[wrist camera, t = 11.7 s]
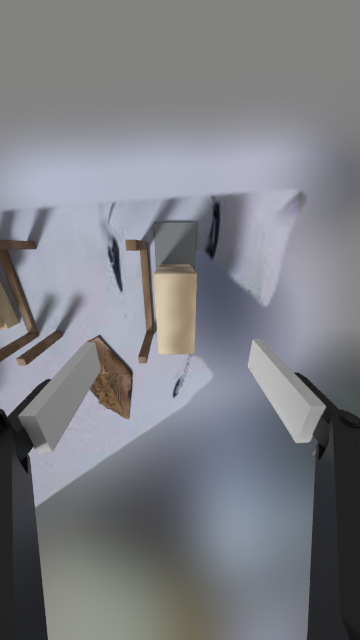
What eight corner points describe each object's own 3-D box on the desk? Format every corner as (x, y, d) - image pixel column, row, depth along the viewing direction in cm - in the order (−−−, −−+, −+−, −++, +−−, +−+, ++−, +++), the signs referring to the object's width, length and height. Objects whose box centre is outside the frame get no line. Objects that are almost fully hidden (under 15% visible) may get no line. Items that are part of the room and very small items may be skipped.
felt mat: (160, 346, 38) (160, 347, 38) (154, 222, 28) (153, 222, 28) (191, 346, 38) (191, 347, 38) (196, 222, 29) (196, 222, 28)
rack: (-12, 337, 36) (-73, 366, 27) (-60, 240, 29) (-165, 238, 20) (153, 335, 37) (146, 363, 28) (146, 241, 30) (135, 239, 21)
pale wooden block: (163, 320, 35) (158, 354, 24) (160, 264, 31) (153, 273, 20) (187, 320, 35) (194, 353, 24) (188, 263, 31) (197, 273, 20)
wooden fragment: (71, 337, 37) (68, 340, 36) (122, 332, 37) (121, 335, 36) (103, 419, 47) (102, 423, 46) (143, 416, 47) (143, 419, 46)
